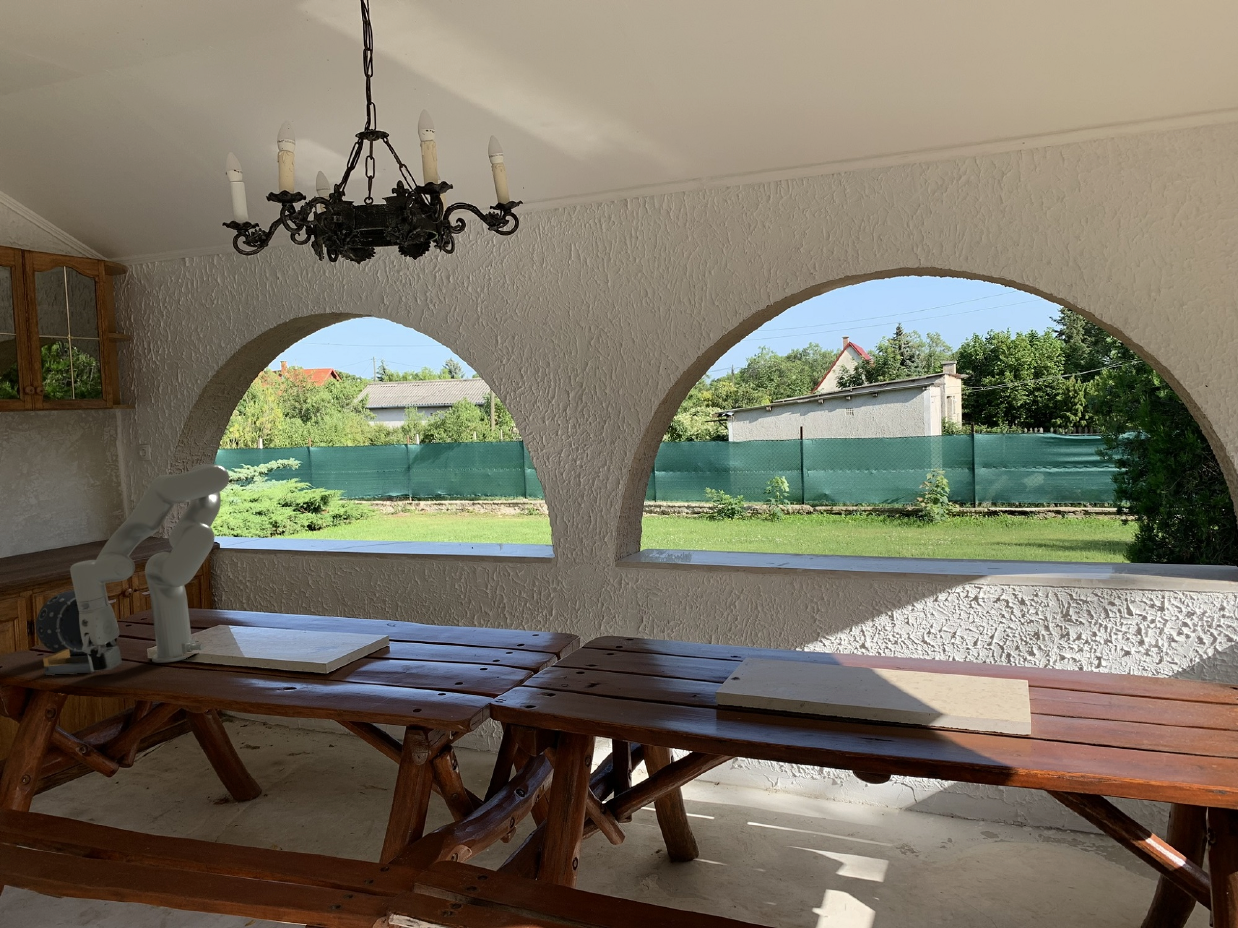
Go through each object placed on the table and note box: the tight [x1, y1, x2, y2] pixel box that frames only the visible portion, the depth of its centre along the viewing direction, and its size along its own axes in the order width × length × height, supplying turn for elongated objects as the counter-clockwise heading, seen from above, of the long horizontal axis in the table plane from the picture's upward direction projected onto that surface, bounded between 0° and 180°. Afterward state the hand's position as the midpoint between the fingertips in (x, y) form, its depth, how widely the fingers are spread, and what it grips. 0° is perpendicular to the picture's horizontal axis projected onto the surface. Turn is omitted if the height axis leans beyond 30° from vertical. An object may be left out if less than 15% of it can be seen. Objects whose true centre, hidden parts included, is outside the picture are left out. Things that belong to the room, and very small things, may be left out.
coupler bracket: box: [42, 649, 96, 675], centre depth 262 cm, size 14×9×5 cm, turn 86°
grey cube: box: [86, 645, 123, 672], centre depth 254 cm, size 7×5×5 cm
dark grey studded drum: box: [35, 589, 95, 656], centre depth 281 cm, size 11×20×20 cm, turn 155°
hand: (106, 665), depth 255 cm, fingers closed on grey cube, 5 cm apart
